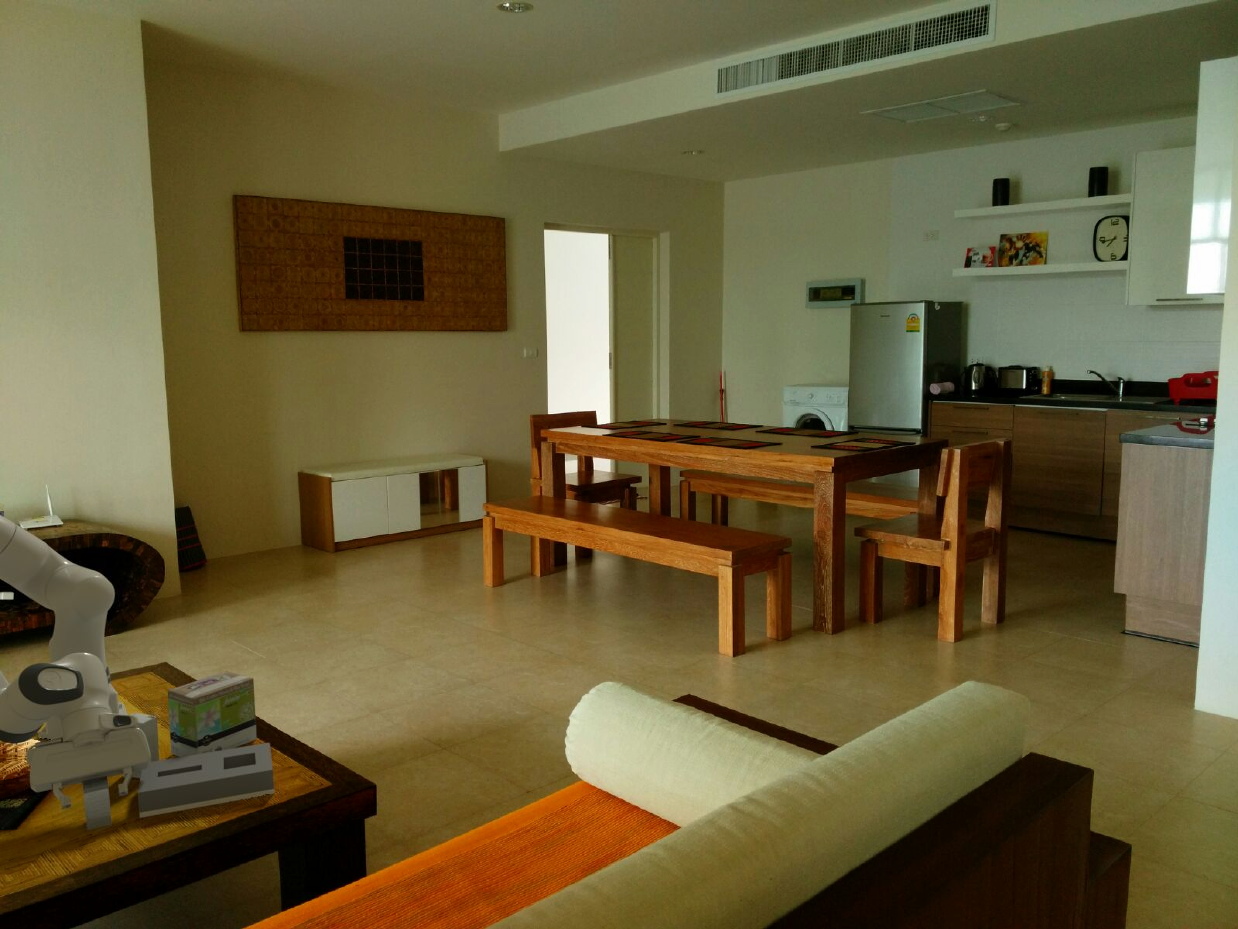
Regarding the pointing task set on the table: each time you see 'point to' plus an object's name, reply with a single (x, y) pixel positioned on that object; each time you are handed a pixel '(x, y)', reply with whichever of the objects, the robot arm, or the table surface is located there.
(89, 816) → the grey square-topped block
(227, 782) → the caddy
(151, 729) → the skincare box
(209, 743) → the tea box
